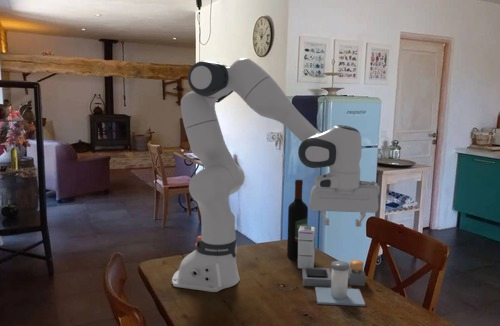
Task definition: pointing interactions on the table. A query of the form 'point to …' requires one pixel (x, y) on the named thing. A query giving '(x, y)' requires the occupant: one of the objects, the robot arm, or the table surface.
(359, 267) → the plunger
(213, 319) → the table surface
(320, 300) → the mat
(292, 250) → the wine bottle
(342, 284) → the white jar
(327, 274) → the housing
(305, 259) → the syrup box
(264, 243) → the table surface
